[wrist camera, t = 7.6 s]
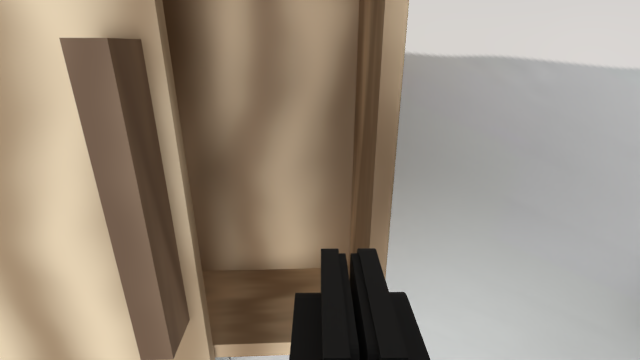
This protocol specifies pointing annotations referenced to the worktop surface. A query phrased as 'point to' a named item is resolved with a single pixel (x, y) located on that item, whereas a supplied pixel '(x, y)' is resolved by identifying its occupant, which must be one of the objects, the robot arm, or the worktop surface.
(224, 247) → the mailer box
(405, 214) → the worktop surface
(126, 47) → the mailer lid
